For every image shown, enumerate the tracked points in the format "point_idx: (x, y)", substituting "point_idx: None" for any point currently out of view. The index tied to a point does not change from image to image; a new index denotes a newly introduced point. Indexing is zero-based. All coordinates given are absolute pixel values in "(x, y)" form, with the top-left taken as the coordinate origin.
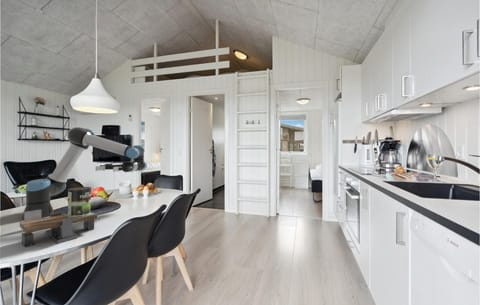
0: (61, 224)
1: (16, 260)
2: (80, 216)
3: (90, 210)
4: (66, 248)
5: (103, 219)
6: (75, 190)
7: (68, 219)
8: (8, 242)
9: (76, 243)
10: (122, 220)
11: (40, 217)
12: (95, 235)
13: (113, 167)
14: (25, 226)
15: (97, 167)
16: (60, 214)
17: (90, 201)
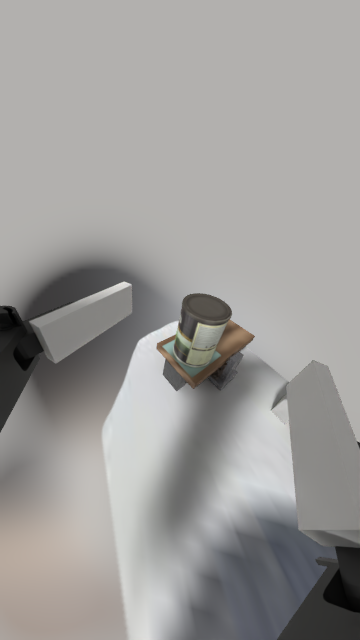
0: None
1: None
2: None
3: (174, 347)
4: (172, 323)
5: (162, 454)
6: (203, 294)
7: None
8: (253, 355)
9: (167, 330)
10: (105, 425)
11: (284, 398)
12: (152, 346)
13: (130, 286)
14: (229, 320)
15: (308, 376)
16: (229, 360)
17: (177, 331)
